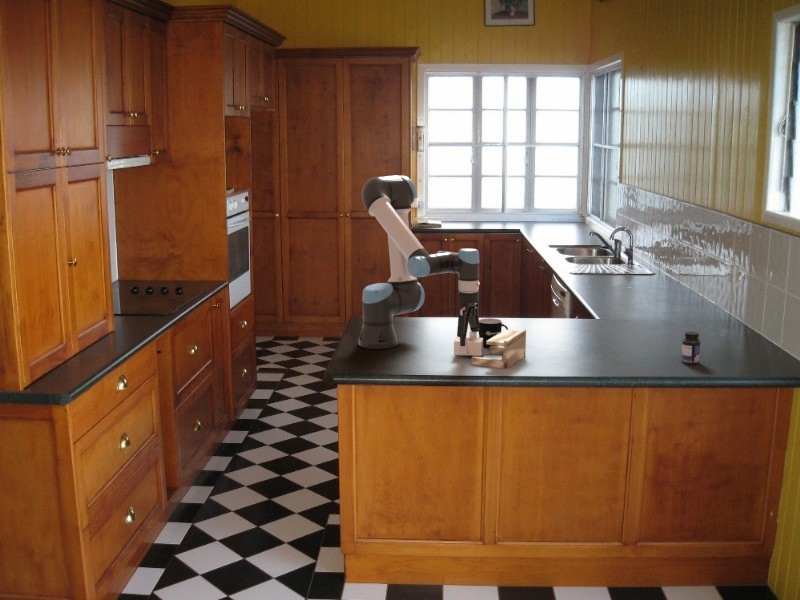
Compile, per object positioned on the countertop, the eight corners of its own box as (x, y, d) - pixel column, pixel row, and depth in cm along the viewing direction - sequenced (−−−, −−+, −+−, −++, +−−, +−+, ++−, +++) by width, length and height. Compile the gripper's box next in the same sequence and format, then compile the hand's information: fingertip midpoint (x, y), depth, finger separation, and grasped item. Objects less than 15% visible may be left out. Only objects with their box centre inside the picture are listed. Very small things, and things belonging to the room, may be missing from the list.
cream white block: (453, 354, 325) (453, 340, 324) (456, 350, 331) (456, 335, 330) (481, 355, 323) (481, 341, 322) (483, 351, 329) (483, 336, 328)
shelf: (471, 364, 317) (472, 337, 315) (491, 351, 333) (491, 326, 331) (507, 368, 311) (507, 341, 309) (525, 356, 327) (526, 329, 325)
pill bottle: (695, 360, 321) (697, 330, 318) (701, 364, 315) (703, 334, 312) (678, 360, 320) (680, 330, 318) (684, 365, 314) (686, 334, 312)
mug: (482, 349, 336) (482, 323, 334) (475, 344, 345) (475, 318, 343) (512, 348, 339) (512, 322, 337) (504, 342, 347) (504, 317, 345)
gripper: (466, 297, 312) (466, 359, 316) (489, 287, 330) (488, 346, 334) (447, 295, 315) (447, 357, 319) (470, 285, 333) (470, 344, 338)
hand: (468, 351), depth 327 cm, fingers closed on cream white block, 8 cm apart
